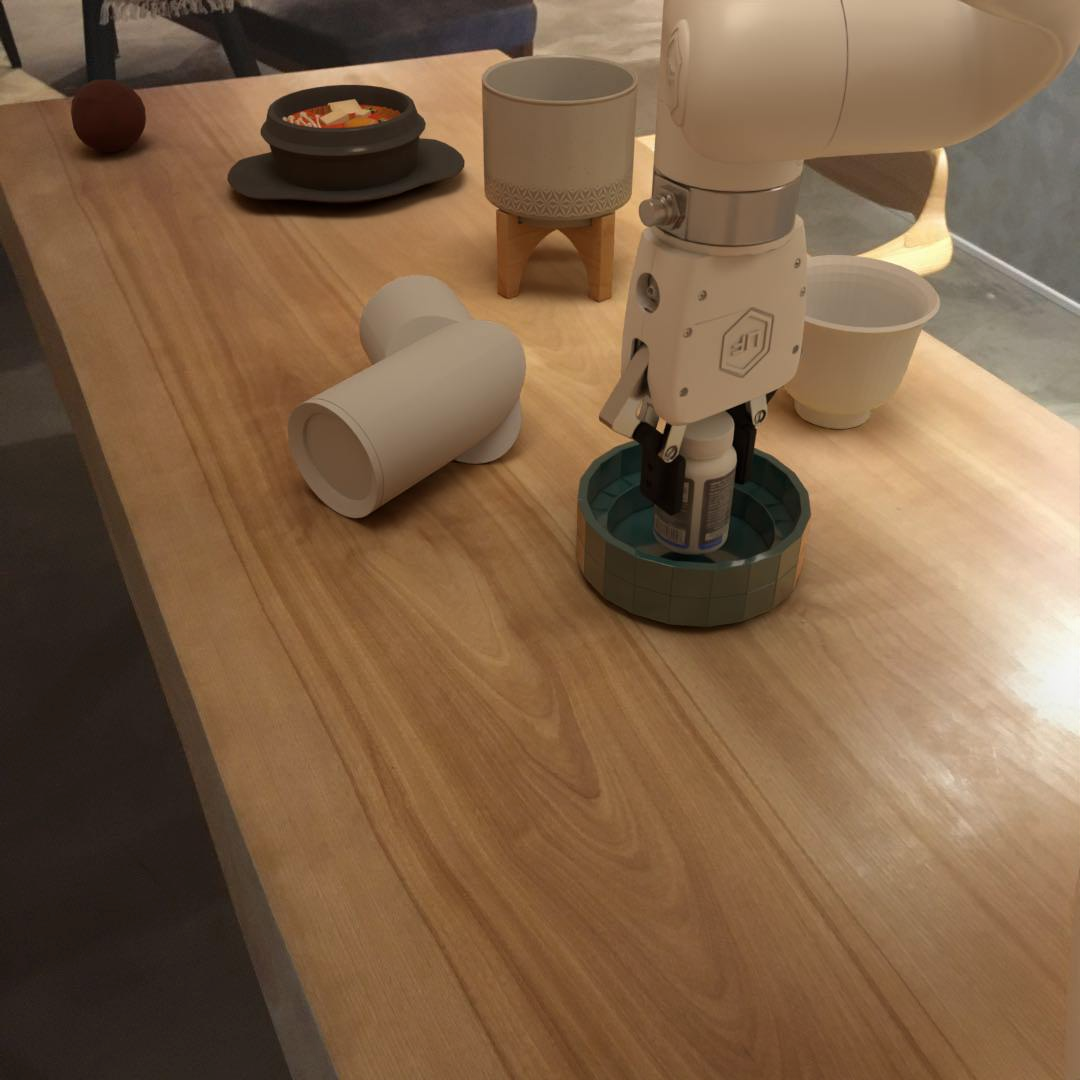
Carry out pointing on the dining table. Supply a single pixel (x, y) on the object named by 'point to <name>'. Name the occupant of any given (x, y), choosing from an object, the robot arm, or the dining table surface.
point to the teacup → (857, 337)
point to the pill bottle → (702, 489)
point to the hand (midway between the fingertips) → (695, 485)
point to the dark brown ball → (108, 115)
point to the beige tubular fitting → (410, 399)
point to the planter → (558, 158)
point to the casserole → (343, 148)
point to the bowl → (691, 580)
